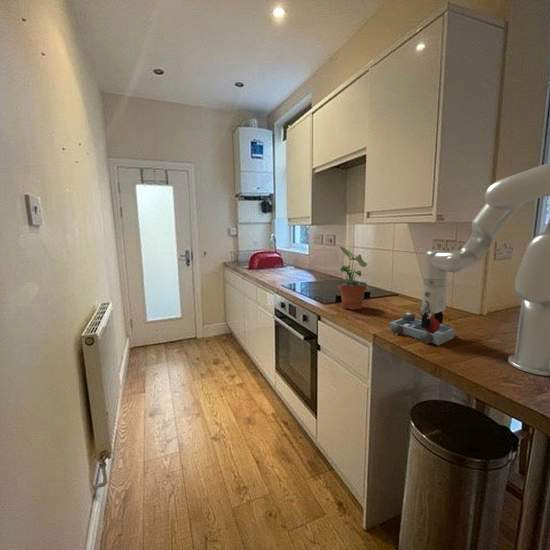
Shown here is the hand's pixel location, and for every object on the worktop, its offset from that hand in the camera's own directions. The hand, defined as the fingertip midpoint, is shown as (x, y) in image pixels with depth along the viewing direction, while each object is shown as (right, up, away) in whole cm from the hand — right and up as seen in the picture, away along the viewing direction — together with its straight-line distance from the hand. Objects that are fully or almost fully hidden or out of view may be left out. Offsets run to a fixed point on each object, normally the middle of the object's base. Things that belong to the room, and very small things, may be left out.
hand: (432, 325), depth 119 cm
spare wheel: (-6, +1, +8) cm, 10 cm away
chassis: (-2, -4, +4) cm, 6 cm away
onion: (0, -4, +1) cm, 4 cm away
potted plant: (-20, +2, +43) cm, 47 cm away
